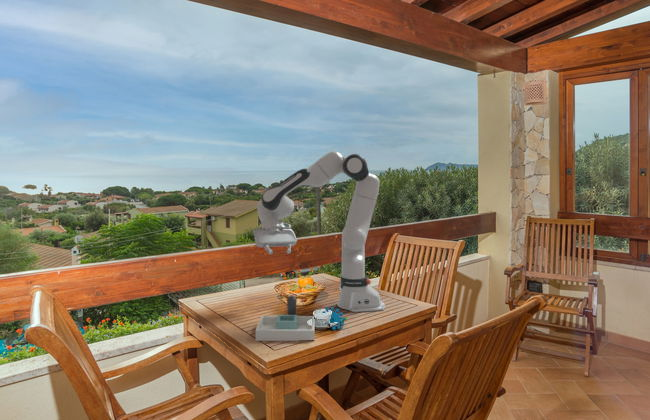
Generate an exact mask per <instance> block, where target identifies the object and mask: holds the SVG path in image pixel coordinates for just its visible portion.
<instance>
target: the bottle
mask: <svg viewBox="0 0 650 420" xmlns="http://www.w3.org/2000/svg"><path fill="white" fill-rule="evenodd" d="M286 301H287V302H286V303H287V304H286V315H297V296H295V295H294V294H290V295H289V296H287V299H286Z"/></svg>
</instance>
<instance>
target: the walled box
mask: <svg viewBox="0 0 650 420" xmlns="http://www.w3.org/2000/svg"><path fill="white" fill-rule="evenodd" d="M313 316H314V315H298V314H296V315H287V314H277V315H261V316H260V318H259V320H258V323H257V326H256V329H255V342H256V341H257V342H258V341H259V342H270V341H271V342H300V341H299V340H314V341H315V327H316V326H315V325H316V324H315V322H316V321H315V319H316V318H315V319H314V318H313ZM310 319H312V327H310V326H309V325H308V324H307V321H308V320H310Z"/></svg>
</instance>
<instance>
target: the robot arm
mask: <svg viewBox="0 0 650 420" xmlns="http://www.w3.org/2000/svg"><path fill="white" fill-rule="evenodd" d="M341 173H343V174H345V175H346V176H347V177H348V178H350V179H353V180H354V181H355V189H354V192H353V195H352V200H351V202H350V206H349V209H348V213H347V217H346V221H345V225H344V227H343V229H342V231H341V276H340V279H339V287H340V290H339V291H340V292H339V299H338V301H337V306H338V307H339V308H340V309H343V310H347V311H349V312H352V313H359V312H375V311H384V310H385V309H386V304H385V303H384V301H382V300H381V295H380V294H379V292H378V291H377V290H376V289H375V288H374V287H372V286H371V285H370V284H371V283H372V282H371V280H370V279H369V277H367V276H366V272H365V271H366V270H365V268H366V258H365V257H366V253H365V252H366V251H365V250H366V249H365V246H366V241H367V238H368V234H369V230H370V225H371V221H372V217H373V214H374V210H375V206H376V203H377V200H378V196H379V190H380V183H381V181H380V179H379V177H378V176H377V175H376V174H373V173H372V172H370V171H369V168H368V162H367V160H366V158H365V157H363V155H361V154H357V153H352V154H349V155H348V156H346V157H345V156H343V154H341V153H340V152H339V151H338V150H332V151H329V152H327V153H326V154H325V155H323V156H322V157H320V158H319V159H318V160H316V161H315V162H314V163H313V164H311V165H309V166H307V167H305V168H302V169H299V170H297V171H295V172H294V173H293V174H290V175H289V176H288V177H286V178H285V179H283V180H282V181H280V182H279V183H278V184H276V185H274V186H272V187H269V188H268V189H266V190H265V191H264V192H263V194H262V196H261V199H260V200H259V201H258V202H257V205H256V209H257V215H258V218H259V221H260V222H261V225H260V226H261V228H255V229H253V230H252V234H253V236H254V243H255V246H256V247H257V248H264V250H265V251H266V252H267V254H268V255H273V253H274V251H273V249H271V247H272V248H275V247H286V248H287V249H286V254H287V255H288V254H291V253H292V250H291V249H292V247H294V246H295V245H296V244H297V242H298V239H297V236H296V234H295V232H294V230H293V229H291V228H292V225H291V224H290V223H286V222H283V221H281V220H284V219H285V218H288V217H290V216H291V215H292V214H293V213H294V210H295V202H294V201H293V200H292V198H289V197H288V196H287V195H288V194H289V193H291V192H293V190H295V189H296V188H298V187H301V186H310V187H313V188H321V187H323V186H325V185H327V184H328V183H330V181H332V179H334V178H335V177H336V176H338V175H340V174H341Z"/></svg>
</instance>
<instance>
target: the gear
mask: <svg viewBox="0 0 650 420" xmlns="http://www.w3.org/2000/svg"><path fill="white" fill-rule="evenodd" d="M334 309H335V307H333V306H331V307H330V308H329V307H326V308H325V310H323V311H322V312H321V314H322V313H325V314H326V313H327V312H329V310H330V312H331V311H332V315H331V319H330V323H334V322H338V323H337V324H336V325H334V326H332V328H331V330H332V329H333V330H332V331H335V330H336V329H337V330H340V329H341V327H343V326H344V325H345V321H347V320H348V317H347V316H344V313H343V312H340V309H339V308H336V309H335V310H334ZM338 312H339V313H338ZM343 316H344V317H343ZM340 324H341V325H340ZM336 326H337V327H336Z"/></svg>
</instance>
